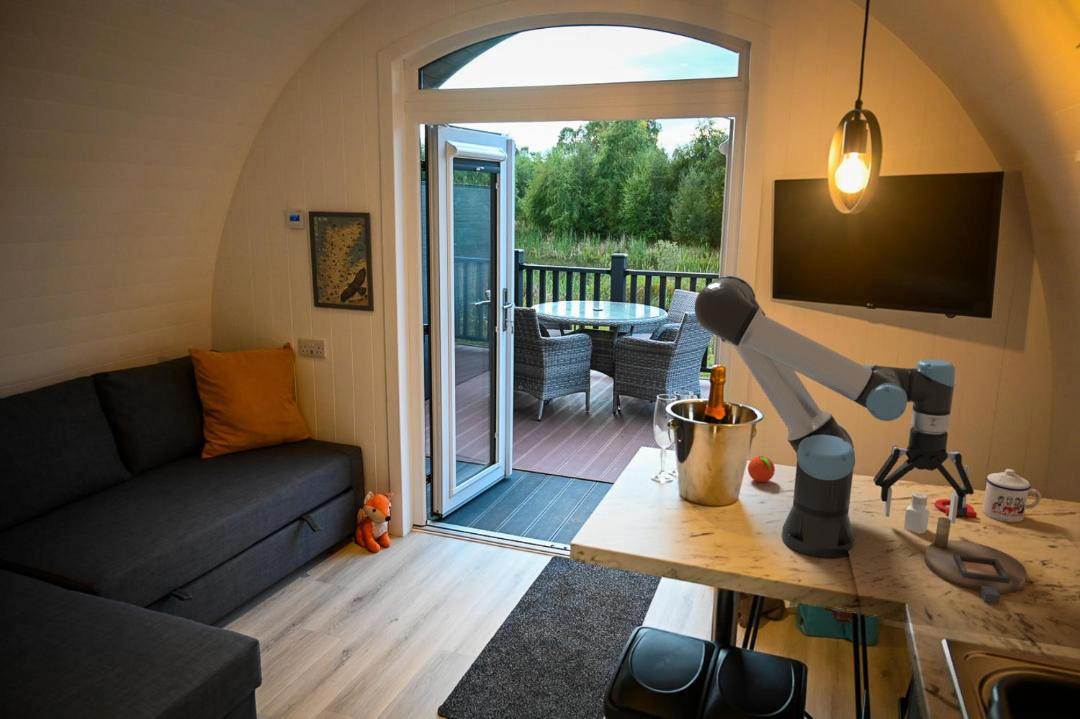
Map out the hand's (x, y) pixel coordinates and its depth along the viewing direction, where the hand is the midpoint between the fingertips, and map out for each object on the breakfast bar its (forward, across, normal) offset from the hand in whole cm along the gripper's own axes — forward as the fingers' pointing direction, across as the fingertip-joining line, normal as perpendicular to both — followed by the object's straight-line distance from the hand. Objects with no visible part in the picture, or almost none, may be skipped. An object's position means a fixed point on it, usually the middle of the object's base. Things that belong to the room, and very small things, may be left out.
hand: (918, 517), depth 173 cm
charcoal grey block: (+4, +8, -28) cm, 30 cm away
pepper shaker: (+4, 0, 0) cm, 4 cm away
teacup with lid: (+5, +24, +17) cm, 29 cm away
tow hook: (+4, +12, +17) cm, 21 cm away
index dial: (+3, +8, -17) cm, 19 cm away
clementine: (+4, -34, +21) cm, 40 cm away
